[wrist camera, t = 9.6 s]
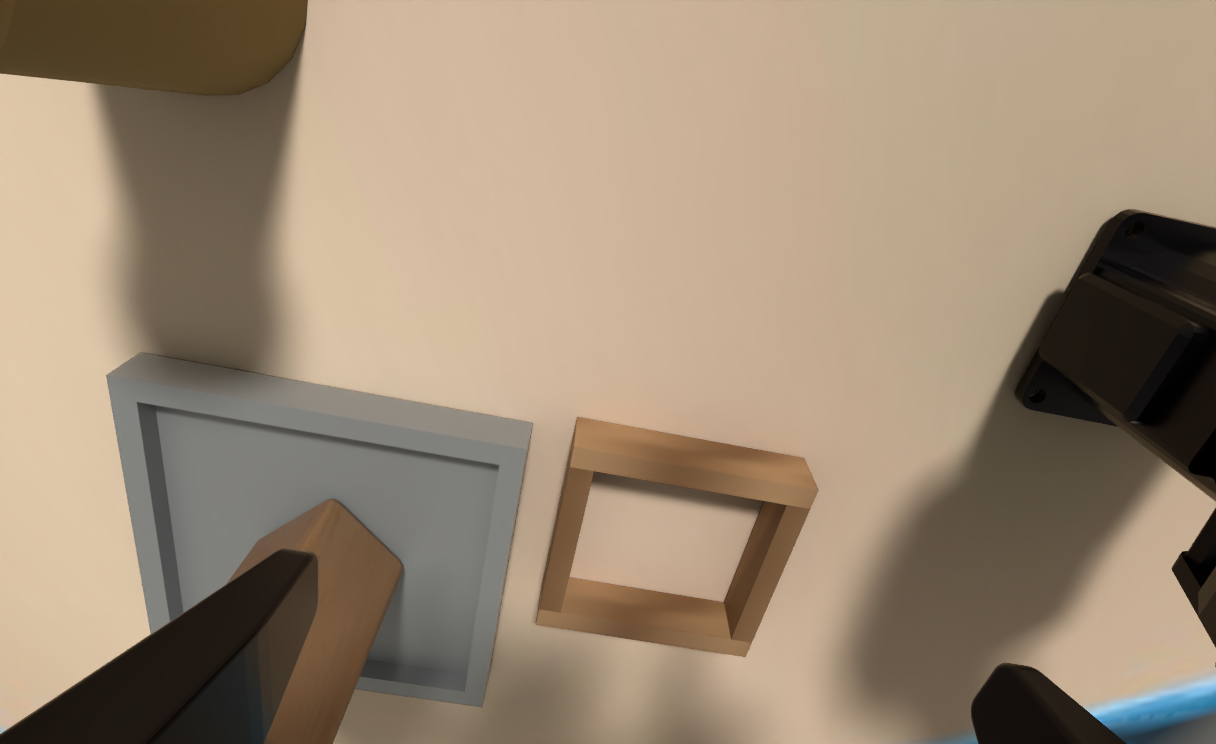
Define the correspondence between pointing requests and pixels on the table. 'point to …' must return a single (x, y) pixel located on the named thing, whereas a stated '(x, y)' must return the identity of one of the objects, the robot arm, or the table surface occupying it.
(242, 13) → the olive pawn piece
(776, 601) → the table surface
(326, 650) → the wooden block
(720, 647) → the walnut collar
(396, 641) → the slate tray
